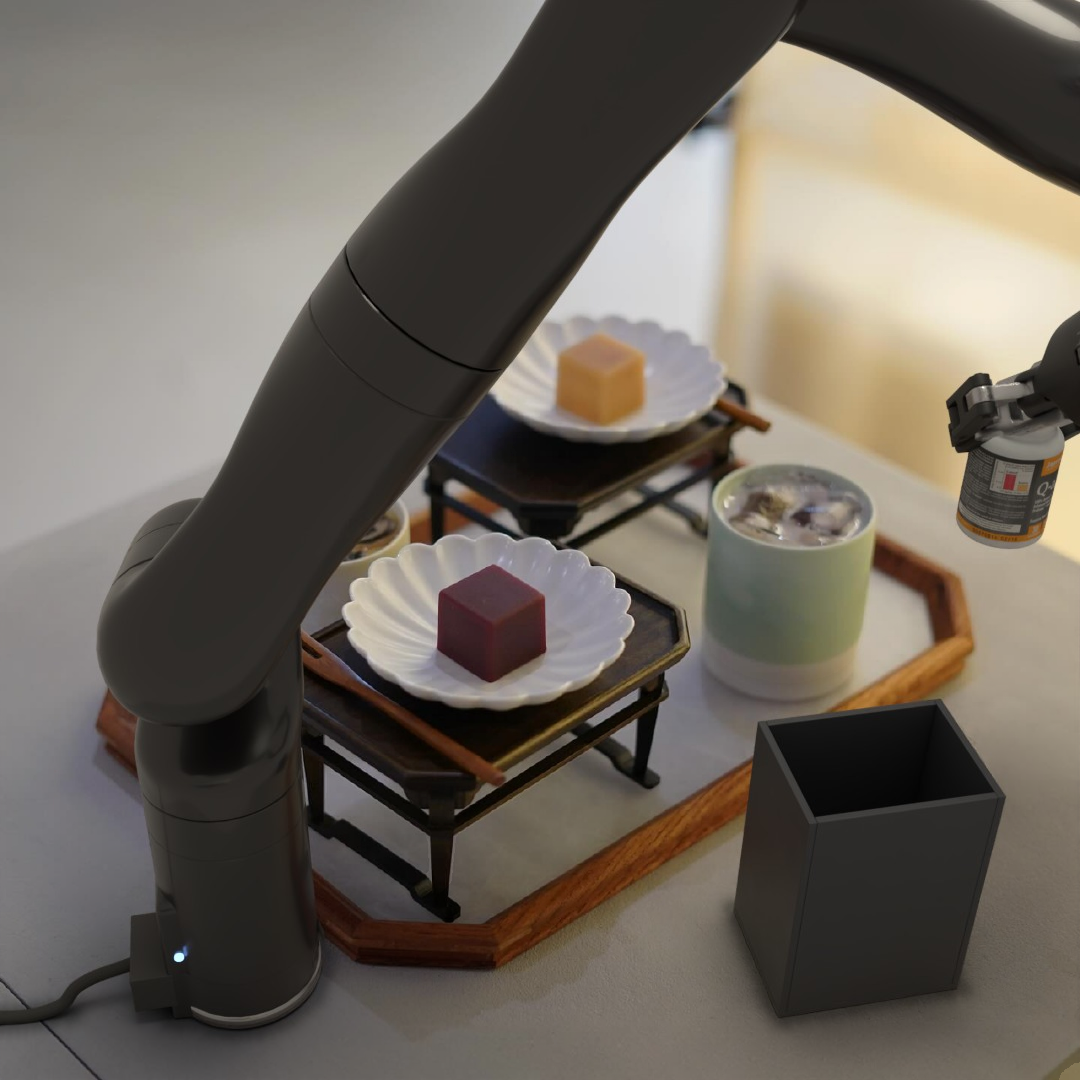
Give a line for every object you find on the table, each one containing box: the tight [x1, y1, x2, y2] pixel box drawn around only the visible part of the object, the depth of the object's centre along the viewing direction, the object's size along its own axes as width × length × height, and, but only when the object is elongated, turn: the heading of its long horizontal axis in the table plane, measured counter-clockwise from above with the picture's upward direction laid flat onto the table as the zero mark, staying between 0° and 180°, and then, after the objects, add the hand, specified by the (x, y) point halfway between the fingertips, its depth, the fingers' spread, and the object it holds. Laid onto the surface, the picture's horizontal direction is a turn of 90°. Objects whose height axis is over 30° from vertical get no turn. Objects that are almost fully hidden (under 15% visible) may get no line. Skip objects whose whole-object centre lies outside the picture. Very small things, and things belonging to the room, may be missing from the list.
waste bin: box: [733, 698, 1007, 1018], centre depth 94 cm, size 12×9×16 cm
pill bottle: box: [955, 383, 1066, 550], centre depth 98 cm, size 6×6×10 cm
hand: (1003, 433), depth 98 cm, fingers closed on pill bottle, 5 cm apart
